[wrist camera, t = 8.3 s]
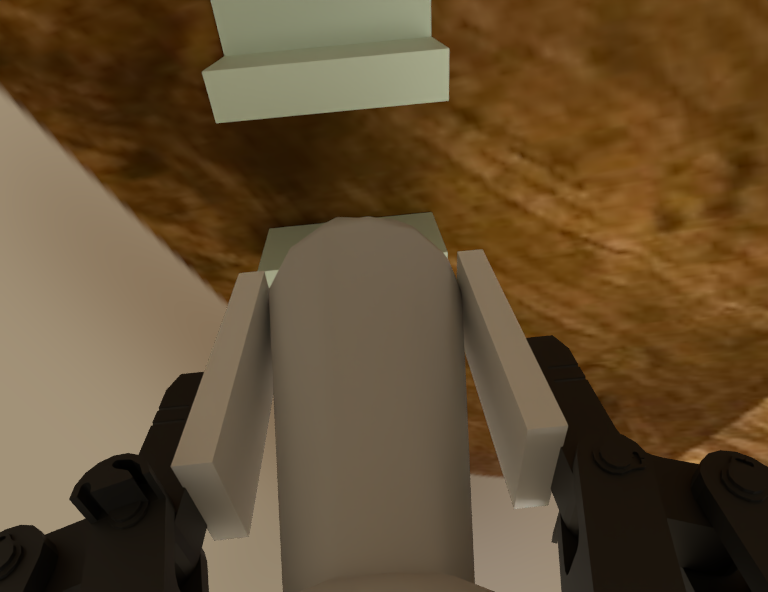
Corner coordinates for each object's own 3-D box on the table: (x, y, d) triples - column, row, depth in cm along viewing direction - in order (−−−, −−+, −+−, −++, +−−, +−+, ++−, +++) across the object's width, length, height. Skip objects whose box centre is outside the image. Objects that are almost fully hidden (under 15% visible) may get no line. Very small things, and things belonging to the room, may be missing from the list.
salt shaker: (385, 150, 14) (521, 775, 3) (475, 279, 16) (705, 825, 6) (242, 253, 15) (7, 888, 5) (346, 353, 18) (347, 883, 8)
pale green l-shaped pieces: (207, -25, 20) (175, -25, 16) (428, -44, 21) (449, -49, 17) (285, 297, 31) (277, 346, 27) (432, 281, 31) (446, 327, 27)
